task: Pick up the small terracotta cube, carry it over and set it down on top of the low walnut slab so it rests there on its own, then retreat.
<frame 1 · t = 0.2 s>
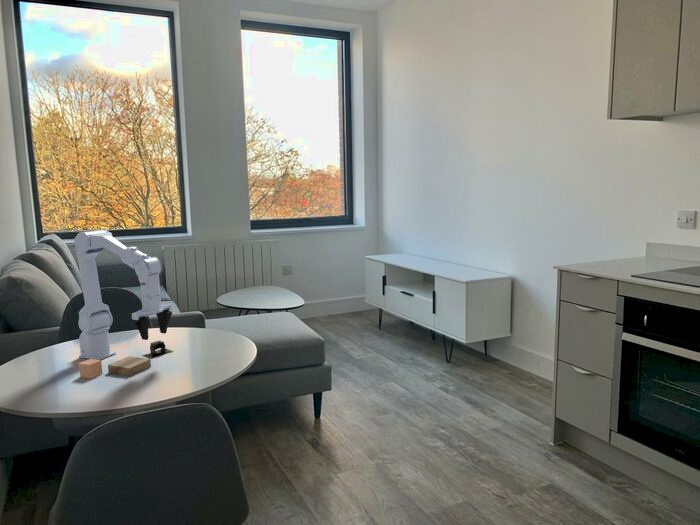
hand: (154, 336, 175), 10 cm above the table, fingers open, 7 cm apart
walnut slab: (130, 370, 174), on the table
terracotta cube: (91, 375, 170), on the table
build plate: (158, 355, 190), on the table
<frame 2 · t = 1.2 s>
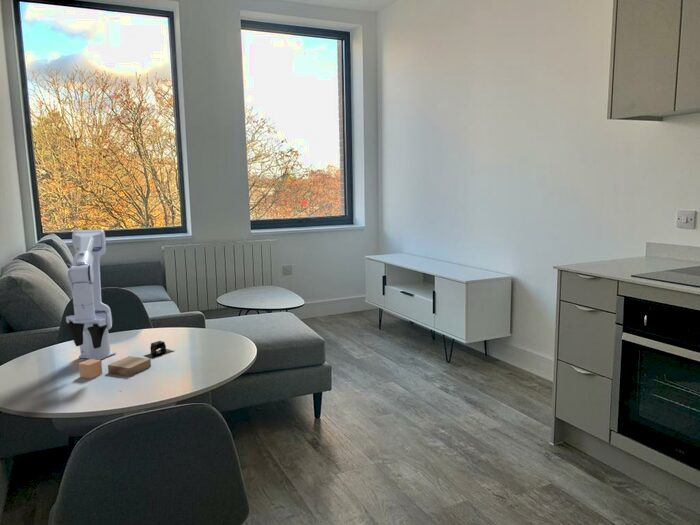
hand: (88, 346, 168), 9 cm above the table, fingers open, 7 cm apart
nothing on the table moved.
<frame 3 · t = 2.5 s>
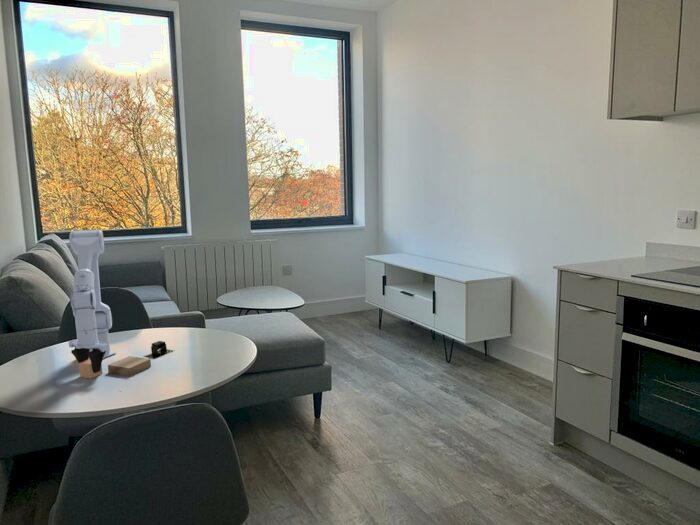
hand: (90, 370, 169), 1 cm above the table, fingers closed on terracotta cube, 4 cm apart
terracotta cube: (91, 375, 170), on the table, touching gripper
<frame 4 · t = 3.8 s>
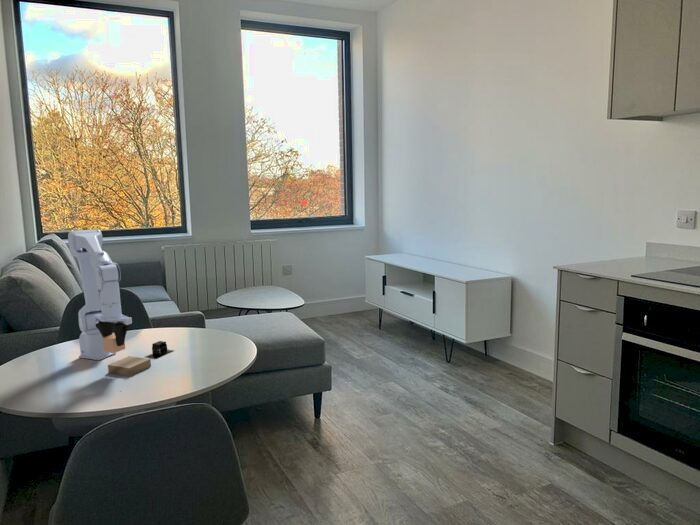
hand: (114, 344, 171), 9 cm above the table, fingers closed on terracotta cube, 5 cm apart
terracotta cube: (114, 350, 171), point 7 cm above the table, touching gripper
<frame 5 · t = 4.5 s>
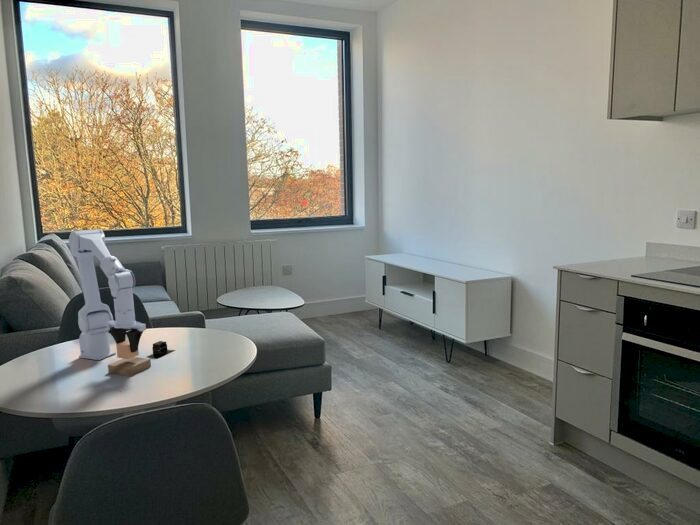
hand: (128, 350, 173), 6 cm above the table, fingers closed on terracotta cube, 5 cm apart
terracotta cube: (128, 356, 173), point 5 cm above the table, touching gripper
when the fingers open (5 cm above the table, at t = 5.1 s): terracotta cube drops 1 cm, resting on walnut slab.
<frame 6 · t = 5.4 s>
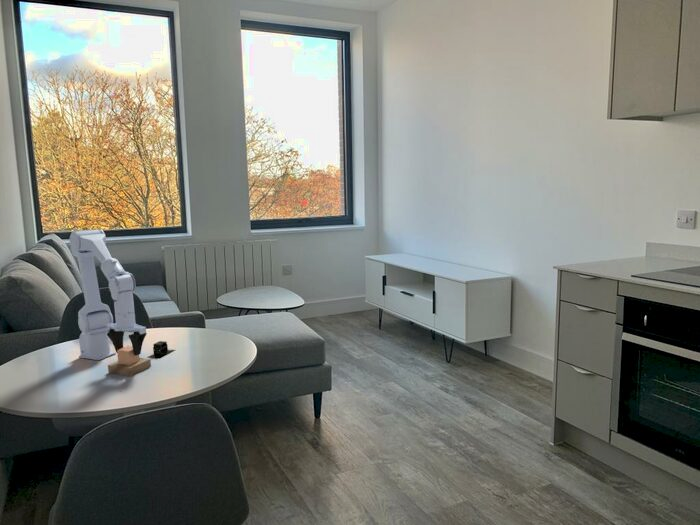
hand: (128, 353, 173), 5 cm above the table, fingers open, 7 cm apart
walnut slab: (130, 371, 174), on the table, touching terracotta cube
terracotta cube: (129, 362, 173), point 3 cm above the table, touching walnut slab
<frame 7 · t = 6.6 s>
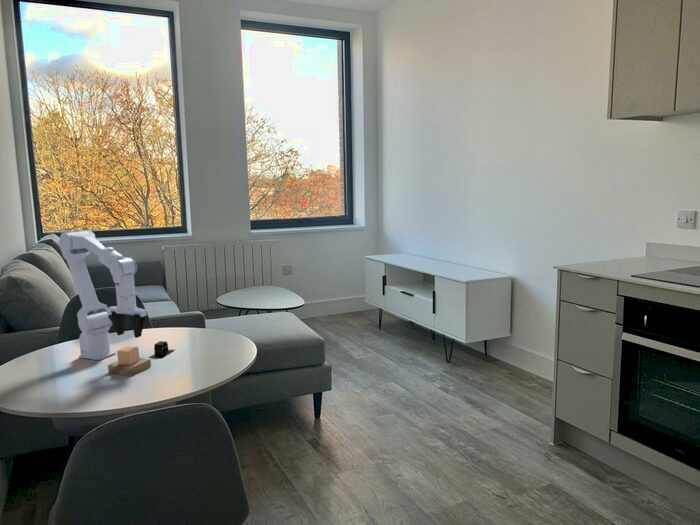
hand: (129, 335, 177), 10 cm above the table, fingers open, 7 cm apart
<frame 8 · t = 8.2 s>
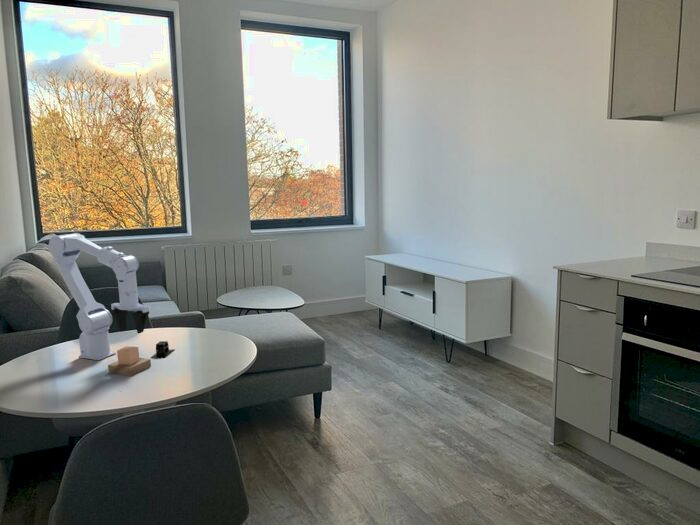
hand: (131, 331, 182), 10 cm above the table, fingers open, 7 cm apart
walnut slab: (130, 371, 174), on the table
terracotta cube: (129, 362, 173), point 3 cm above the table
at the end: terracotta cube 0.1 cm off-centre on the walnut slab, point 3.0 cm above the walnut slab's base; terracotta cube tilted 1°; the gripper is holding nothing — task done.
